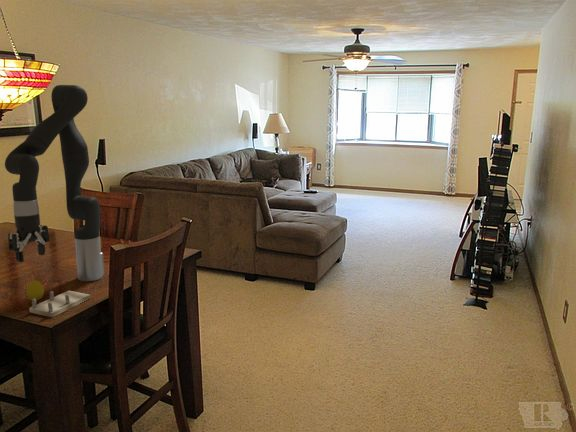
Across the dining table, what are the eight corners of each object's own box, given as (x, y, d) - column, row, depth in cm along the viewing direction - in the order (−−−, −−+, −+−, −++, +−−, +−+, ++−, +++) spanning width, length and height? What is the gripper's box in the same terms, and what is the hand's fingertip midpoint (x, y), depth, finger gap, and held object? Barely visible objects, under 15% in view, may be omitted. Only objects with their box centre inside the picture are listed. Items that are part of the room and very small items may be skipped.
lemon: (24, 302, 168) (21, 280, 166) (39, 297, 173) (37, 276, 171) (32, 305, 165) (30, 284, 163) (48, 300, 170) (46, 279, 168)
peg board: (69, 294, 176) (68, 282, 174) (90, 298, 172) (89, 286, 171) (29, 312, 160) (28, 299, 159) (52, 317, 157) (50, 304, 156)
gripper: (36, 207, 169) (40, 251, 173) (-1, 215, 156) (4, 262, 160) (52, 209, 167) (56, 254, 170) (16, 218, 154) (21, 265, 157)
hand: (31, 258), depth 165 cm, fingers open, 8 cm apart
